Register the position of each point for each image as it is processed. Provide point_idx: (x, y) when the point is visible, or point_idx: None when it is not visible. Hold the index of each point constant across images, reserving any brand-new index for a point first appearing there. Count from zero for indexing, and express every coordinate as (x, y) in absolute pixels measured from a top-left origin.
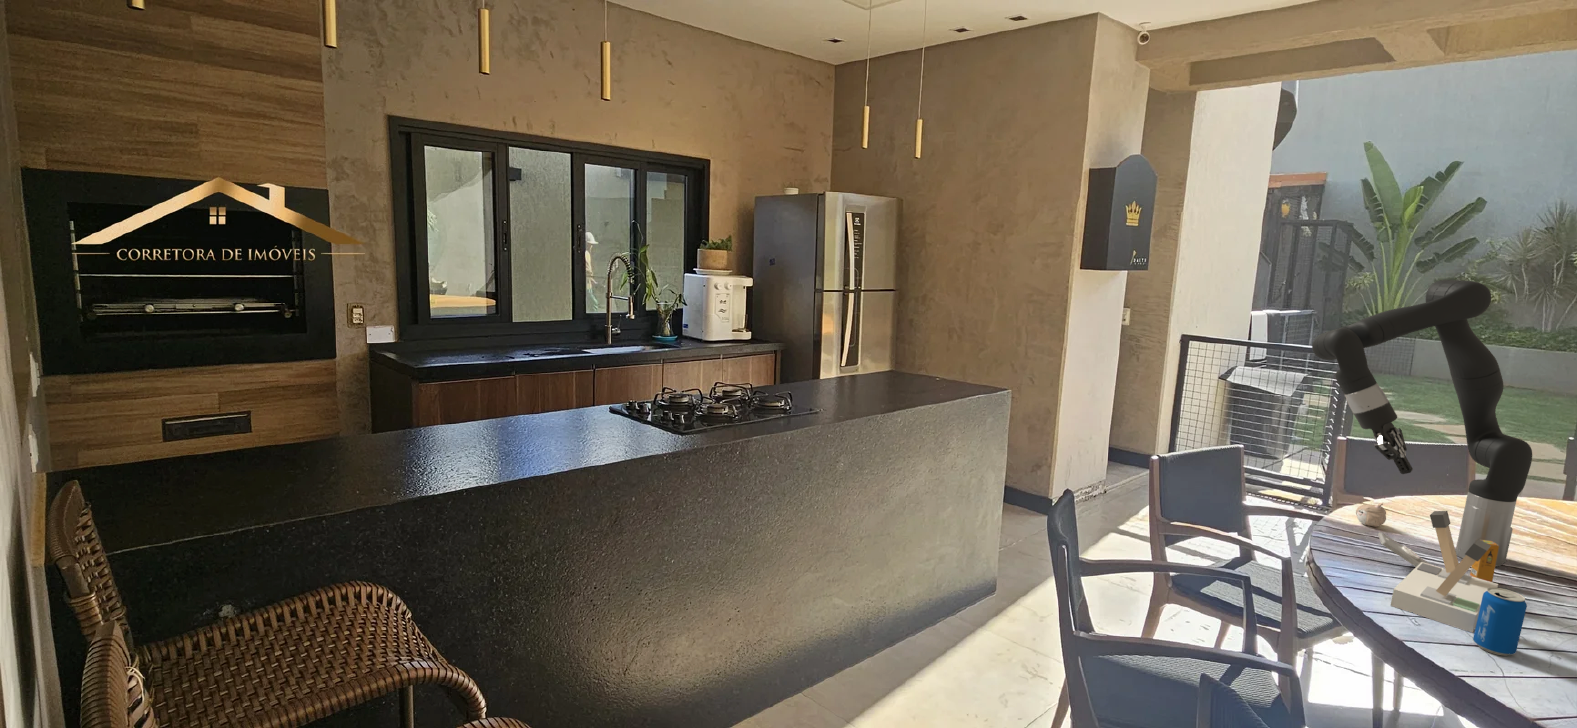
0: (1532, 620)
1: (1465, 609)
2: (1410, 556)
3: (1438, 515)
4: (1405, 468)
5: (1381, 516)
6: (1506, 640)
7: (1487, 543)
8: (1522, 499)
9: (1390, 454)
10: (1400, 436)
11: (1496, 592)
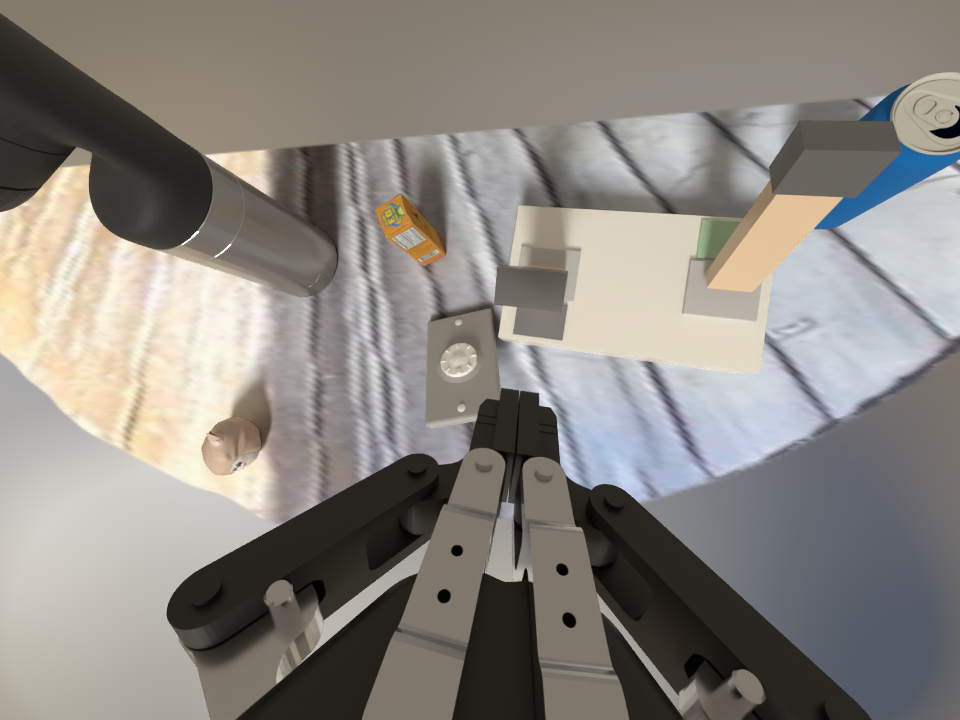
0: (580, 164)
1: None
2: (481, 358)
3: (565, 286)
4: (554, 425)
5: (240, 427)
6: None
7: (406, 213)
8: None
9: (607, 559)
10: (317, 559)
11: (933, 136)
